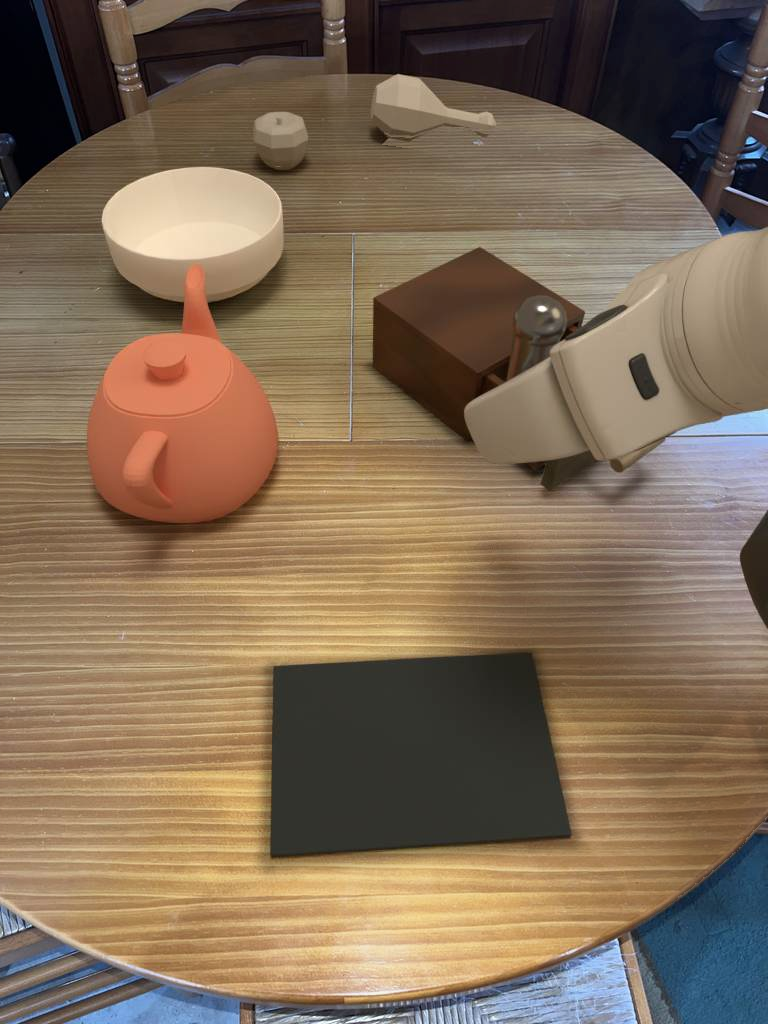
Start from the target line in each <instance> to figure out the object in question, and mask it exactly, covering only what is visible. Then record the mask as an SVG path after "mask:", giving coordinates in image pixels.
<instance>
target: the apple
mask: <svg viewBox="0 0 768 1024" xmlns="http://www.w3.org/2000/svg"><path fill="white" fill-rule="evenodd" d="M252 138H253V143H254V146H255V149H256V151H257V154H258V156H259V158H260V159H261V160H262V162H263V163H264V164H265V165H266V166H267V167H269V168H270V169H274V170H276V171H291V169H293V168H295V167H297V166H298V165H299V164H300V163H302V161H303V158H304V157H305V155H306V154H307V149H308V144H309V134H308V131H307V127H306V124H305V121H304V118H303V117H302V116H300V115H297V114H295V113H292V112H290V111H272V112H271V111H269V112H267V113H265V114H263V115H261V116H259V117H257V118H256V119H255V120H254V122H253V127H252ZM299 161H300V162H299ZM265 162H266V163H265ZM267 163H269V164H267ZM270 164H271V165H270ZM273 165H274V166H273ZM292 165H293V166H292ZM275 166H281V167H275Z"/></svg>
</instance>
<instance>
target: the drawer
mask: <svg viewBox="0 0 768 1024" xmlns="http://www.w3.org/2000/svg"><path fill="white" fill-rule="evenodd" d="M576 330H578V328H576V327H575V326H573V325H571V326H569V327H568V328H566V330H565V332H564V334H563V336H562V337H561V339H560V342H561V341H563V340H564V339H565V337H567V336H568V335H570V334H571V333H573V332H574V331H576ZM508 366H509V361H508V362H507V363H505V364H503V365H501V366H500V367H498V368H496V369H495V370H493V371H491V372H489V373H488V374H486V375H484V376H483V379H482V386H481V393H480V396H481V395H482V394H484V393H486V392H488V391H490V390H492V389H494V388H496V387H498V386H500V385H501V384H503V383H505V382H506V378H507V372H508ZM666 438H667V437H666ZM666 438H663V439H661V440H659V441H657V442H654V443H652V444H650V445H648V446H646V447H644V448H642V449H640V450H638V451H635V452H633V453H631V454H629V455H626V456H624V457H621V458H618V459H613V460H608V461H609V464H610V467H611V469H612V470H613V471H614V472H616V473H619V474H621V473H623V472H624V471H626V470H627V469H628V468H630V467H631V466H633V465H634V464H635V463H636V462H638V461H639V460H641V459H642V458H644V457H645V456H646V455H648V454H649V453H651V452H652V451H653V450H654V449H656V448H657V447H659V446H661V445H662V444H663V443H664V442H665V441H666ZM595 461H597V460H596V459H595V458H594V456H593V455H592V453H591V451H590V450H588V451H585V452H583V453H580V454H576V455H573V456H569V457H565V458H560V459H554V460H547V461H538V462H528V463H526V464H527V465H528V466H529V467H531V468H532V469H534V470H535V471H537V470H538V469H540V468H541V467H543V466H544V465H545V466H544V467H543V468H544V469H543V473H542V476H541V477H542V478H541V481H540V485H541V486H542V487H543V488H544V489H546V490H547V491H549V492H552V491H553V490H555V489H556V488H558V487H559V486H561V485H562V484H563V483H565V482H567V480H569V479H570V478H572V477H574V476H575V475H576V474H578V473H580V472H581V471H582V470H584V469H585V468H587V467H588V466H590V465H591V464H592V463H594V462H595Z"/></svg>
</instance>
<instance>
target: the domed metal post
mask: <svg viewBox="0 0 768 1024" xmlns="http://www.w3.org/2000/svg"><path fill="white" fill-rule="evenodd" d="M566 326H567V316H566V312H565V310H564V308H563V306H562V305H561V304H560V302H558V301H557V300H556V299H554V298H553V297H550V296H547V295H535V296H532V297H529V298H528V299H526V300H525V301H523V302H522V303H521V304H520V305H519V307H518V308H517V310H516V312H515V314H514V318H513V328H514V337H513V343H512V349H511V355H510V360H509V366H508V372H507V378H506V382H507V381H509V380H510V379H512V378H514V377H516V376H517V375H519V374H521V373H523V372H524V371H526V370H528V369H530V368H531V367H533V366H535V365H537V364H538V363H540V362H542V361H544V360H545V359H547V358H549V357H550V350H551V348H552V347H553V346H554V345H556V344H558V343H559V342H560V339H561V337H562V336H563V334H564V332H565V330H566Z"/></svg>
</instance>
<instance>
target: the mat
mask: <svg viewBox="0 0 768 1024" xmlns="http://www.w3.org/2000/svg"><path fill="white" fill-rule="evenodd" d="M272 670H273V671H272V675H273V676H272V677H273V678H272V681H273V682H272V725H271V726H272V729H271V730H272V733H271V734H272V735H271V781H270V782H271V788H270V789H271V791H270V839H269V840H270V842H269V843H270V845H269V848H270V849H269V855H270V858H272V859H275V858H276V859H277V858H288V857H303V856H304V857H305V856H317V855H318V856H319V855H331V854H332V855H333V854H347V853H361V852H376V851H377V852H378V851H379V852H380V851H391V850H392V851H393V850H406V849H421V848H422V849H423V848H436V847H451V846H465V845H479V844H480V845H481V844H492V843H495V844H496V843H508V842H509V843H510V842H524V841H538V840H539V841H540V840H551V839H552V840H553V839H555V840H556V839H567V838H571V837H572V835H573V834H572V829H571V825H570V820H569V815H568V810H567V807H566V801H565V798H564V791H563V787H562V783H561V779H560V773H559V769H558V764H557V761H556V754H555V751H554V747H553V742H552V737H551V732H550V727H549V723H548V719H547V714H546V709H545V705H544V700H543V696H542V692H541V687H540V682H539V677H538V673H537V669H536V664H535V659H534V654H533V652H532V651H528V652H527V651H525V652H507V653H505V652H504V653H491V654H489V653H488V654H474V655H473V654H470V655H454V656H453V655H451V656H433V657H432V656H431V657H417V658H415V657H414V658H398V659H397V658H396V659H395V658H394V659H378V660H361V661H360V660H359V661H342V662H341V661H340V662H323V663H305V664H287V665H285V664H284V665H273V669H272Z"/></svg>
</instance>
